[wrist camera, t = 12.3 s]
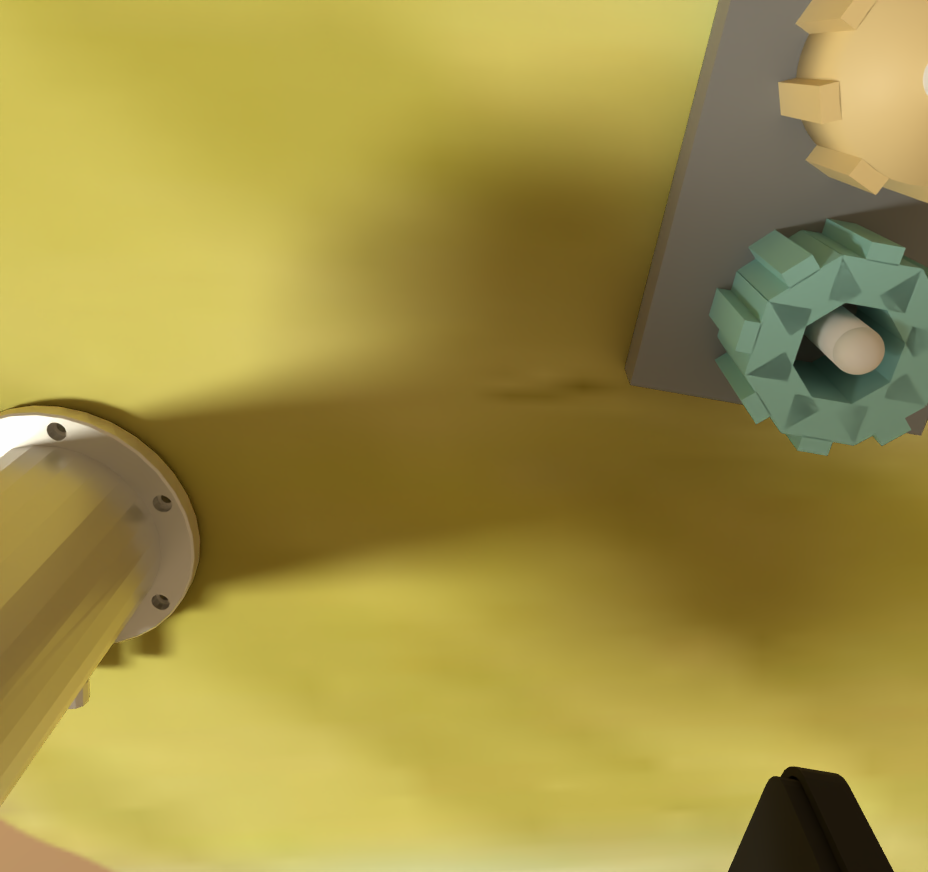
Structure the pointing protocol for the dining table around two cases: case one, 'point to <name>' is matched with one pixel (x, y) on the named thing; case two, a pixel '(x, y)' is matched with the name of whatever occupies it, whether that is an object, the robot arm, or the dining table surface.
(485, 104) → the dining table surface
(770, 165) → the gear board
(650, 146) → the dining table surface
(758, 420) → the teal gear
